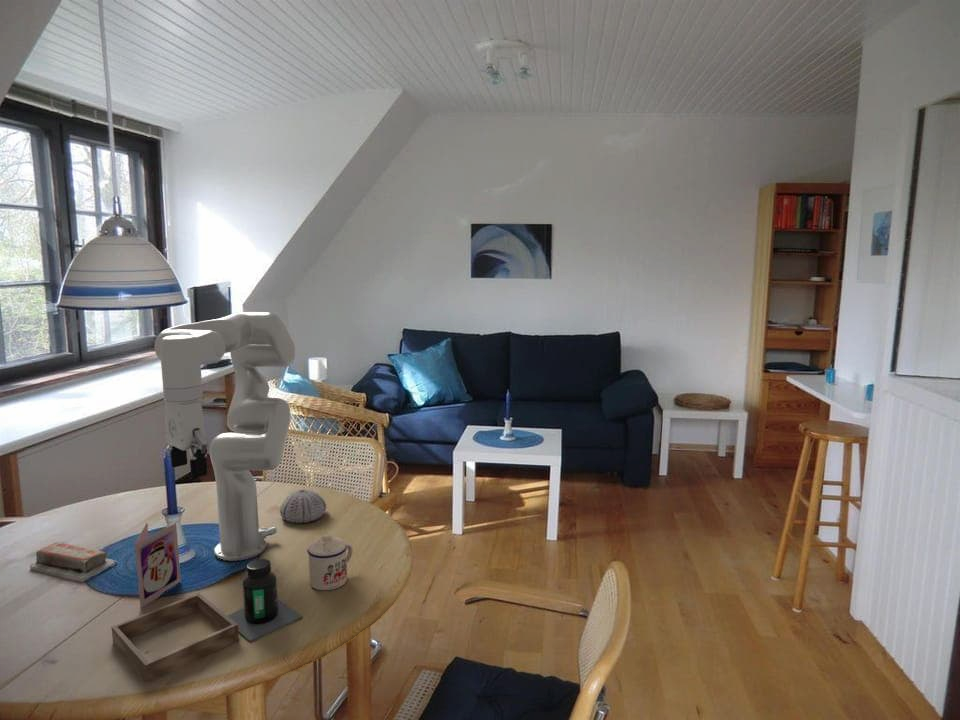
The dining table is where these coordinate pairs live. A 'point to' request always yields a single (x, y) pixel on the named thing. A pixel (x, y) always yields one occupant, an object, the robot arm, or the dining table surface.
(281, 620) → the charcoal mat
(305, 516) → the sea urchin shell
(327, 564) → the teacup with lid
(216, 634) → the walnut box
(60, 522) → the dining table surface
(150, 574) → the greeting card
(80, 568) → the packaged product
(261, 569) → the supplement bottle
